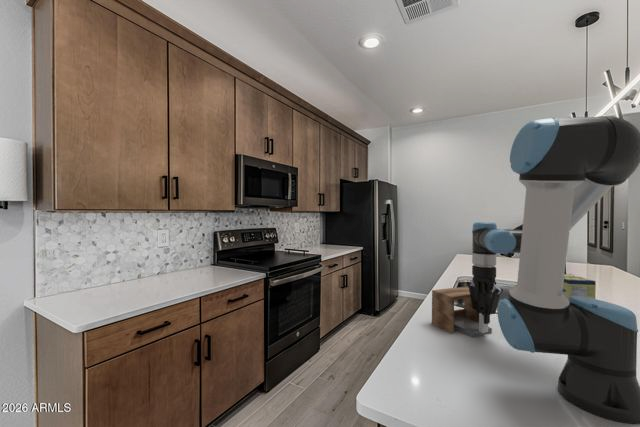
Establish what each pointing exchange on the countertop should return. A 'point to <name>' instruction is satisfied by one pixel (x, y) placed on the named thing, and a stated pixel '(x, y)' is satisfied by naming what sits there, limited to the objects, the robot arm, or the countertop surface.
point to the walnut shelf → (451, 307)
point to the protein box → (578, 286)
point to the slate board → (468, 327)
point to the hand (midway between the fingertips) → (483, 331)
